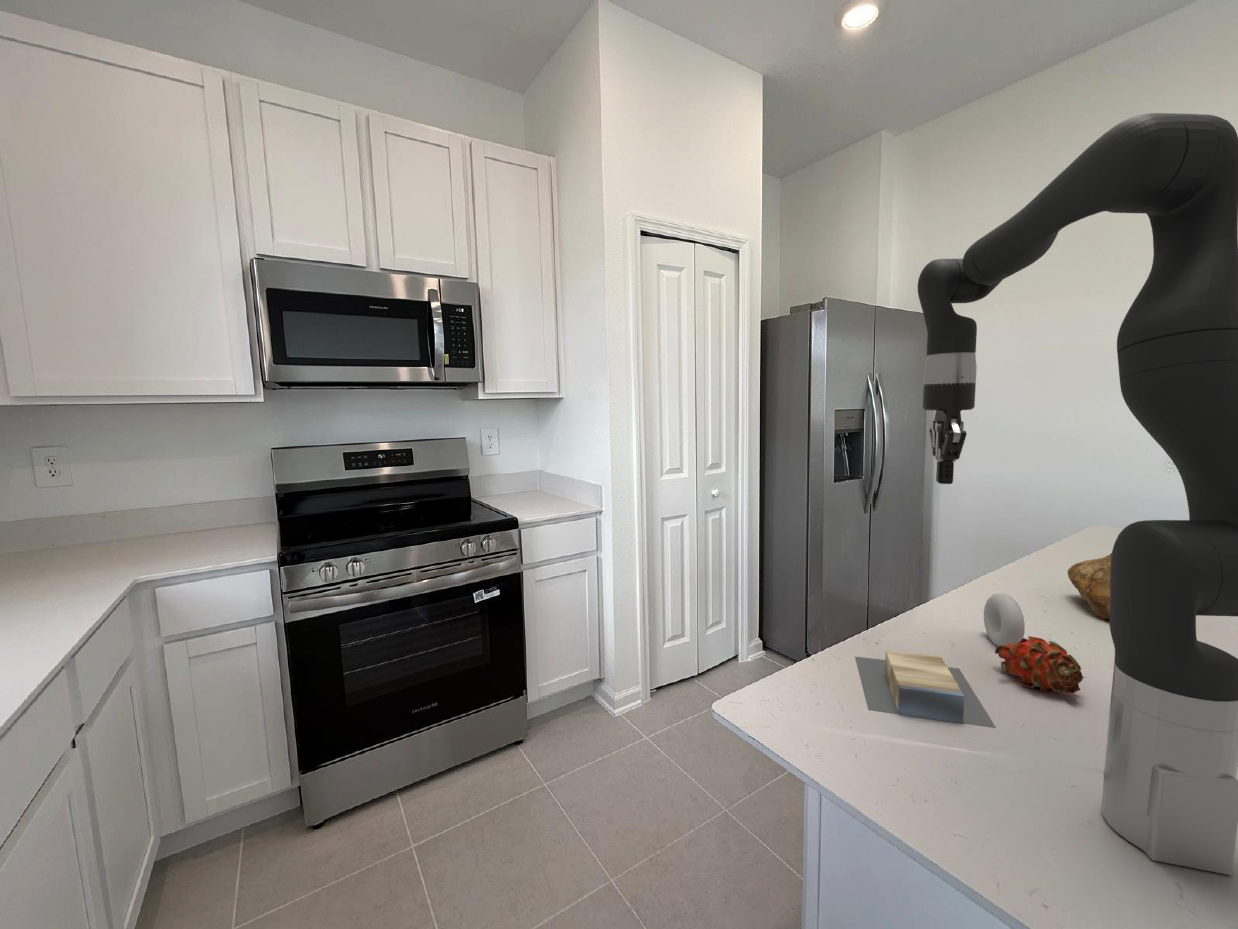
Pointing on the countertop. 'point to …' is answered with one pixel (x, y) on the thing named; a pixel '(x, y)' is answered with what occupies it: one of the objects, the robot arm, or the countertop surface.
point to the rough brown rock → (1093, 583)
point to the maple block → (923, 687)
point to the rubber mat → (883, 700)
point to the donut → (1003, 620)
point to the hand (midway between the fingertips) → (944, 483)
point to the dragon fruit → (1041, 665)
